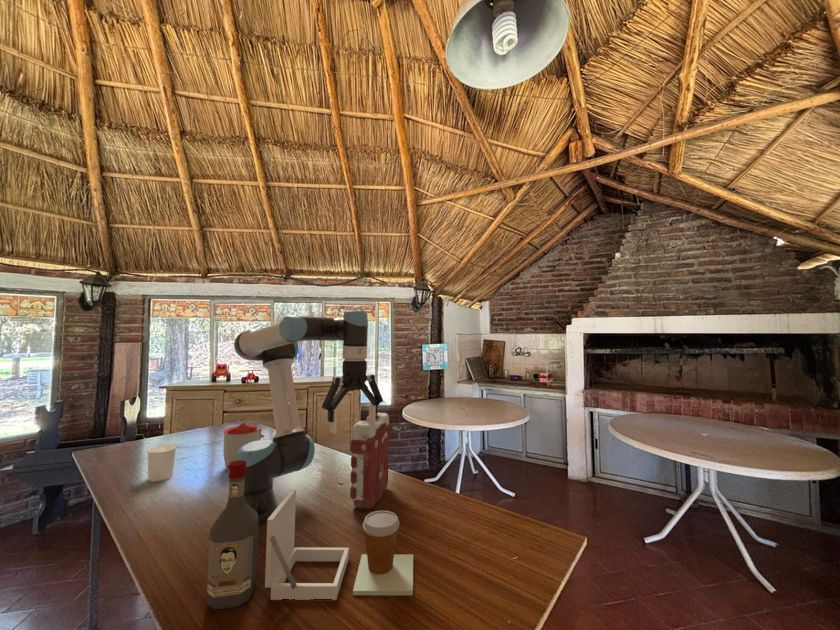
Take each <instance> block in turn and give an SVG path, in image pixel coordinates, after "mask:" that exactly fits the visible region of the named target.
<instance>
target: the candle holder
mask: <svg viewBox="0 0 840 630" xmlns="http://www.w3.org/2000/svg"><path fill="white" fill-rule="evenodd" d="M176 449H177V446H176V445H160V446H155V447H151V448H149V449H148V450H147V481H148V482H151V481H152V482H154V483H155V482H163V481H166V480H168V479H171V478H172V477H173V474H174V467H175V466H174V465H175V456H176V451H177V450H176Z"/></svg>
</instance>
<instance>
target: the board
mask: <svg viewBox="0 0 840 630" xmlns="http://www.w3.org/2000/svg"><path fill="white" fill-rule="evenodd" d="M352 596H414V554H413V553H411V554H395V553H394V560H393V567H392V569H391V570H390V571H389V572H387V573H385V574H374V573H372V572H371V571H370V570H369V568H368V559H367V553H366V554H363V553H362V554H361V557H360V561H359V564H358V569H357V574H356V577H355V580H354V585H353V589H352Z"/></svg>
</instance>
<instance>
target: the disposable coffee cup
mask: <svg viewBox="0 0 840 630" xmlns="http://www.w3.org/2000/svg"><path fill="white" fill-rule="evenodd" d="M399 527H400V521H399V517H398V515H397V514H396V513H394V512H392V511H390V510H376V511H372V512H369V513H368V514H367V515H365V518H364V520H363V522H362V528H363V532H364V536H365V537H364V538H365V545H366V546H365V547H366V549H365V550H366V554H367V559H368V568H369V570H370V571H371V572H372V573H374V574H385V573H387V572H389V571H390V570H391V569H392V567H393V560H394V554H395V550H396V543H397V535H398V529H399Z"/></svg>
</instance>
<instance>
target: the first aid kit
mask: <svg viewBox="0 0 840 630" xmlns="http://www.w3.org/2000/svg"><path fill="white" fill-rule="evenodd" d="M391 436H392V427H391V426H390V416H389V414H388V413H386V412H377V415H375V426H374V427H373V426H370V425H369V415H367V417H366V419H365V420H358V422H356V423H355V424H354V425H353V428H352V439H351V440H350V450H349V451H350V453H352V454H351V458H350V466H351V472H350V482H351V486H350V488H349V489H350V491H349V492H350V493H349V497H350V499H351V500H350V502H351V505H352V506H353V508H356V509H359V510H363V511H364V510H371V509H373V507H374V506H375V505H376V503H378V502H379V500H380V499H381V498H382V497H383V495H384V492H385V491H386V489H387V487H388V482H389V458H390V457H389V451H390V449H389V447H390V446H389V445H390V442H389V441H390V437H391Z"/></svg>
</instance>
